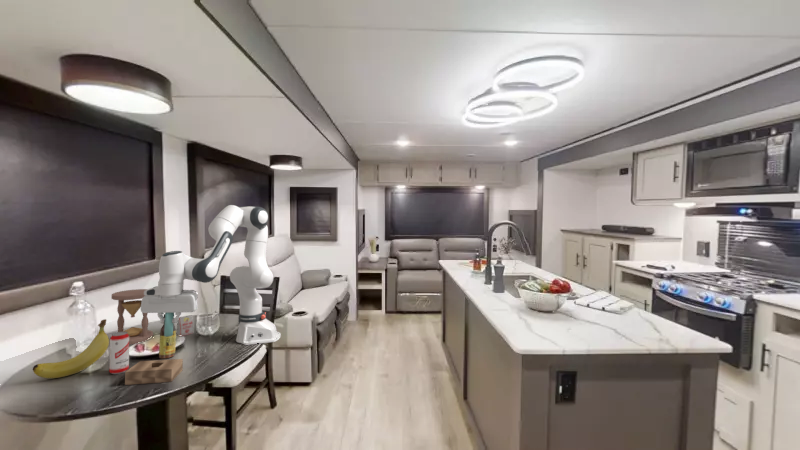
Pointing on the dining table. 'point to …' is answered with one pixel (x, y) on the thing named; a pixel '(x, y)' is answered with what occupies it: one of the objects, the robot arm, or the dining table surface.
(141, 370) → the socket block
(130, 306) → the hourglass
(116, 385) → the dining table surface
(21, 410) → the dining table surface
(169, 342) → the sauce bottle
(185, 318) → the white red printed box
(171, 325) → the peg
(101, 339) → the banana
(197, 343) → the dining table surface
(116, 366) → the beer can
